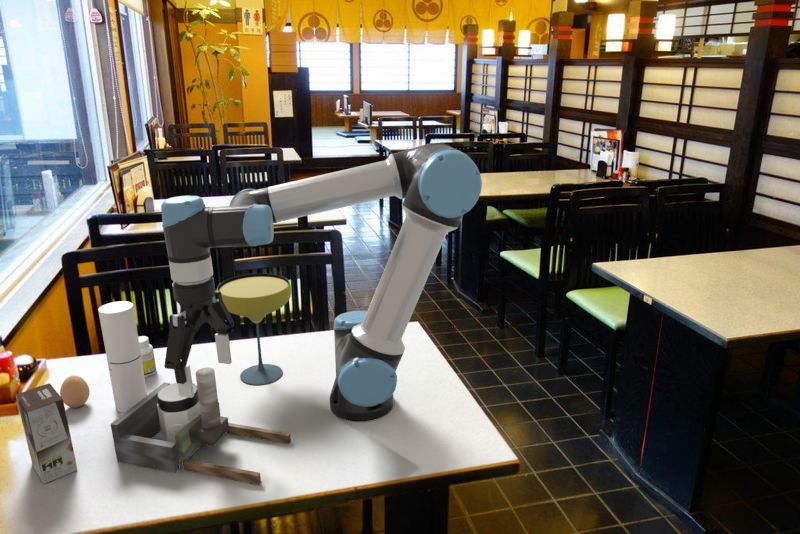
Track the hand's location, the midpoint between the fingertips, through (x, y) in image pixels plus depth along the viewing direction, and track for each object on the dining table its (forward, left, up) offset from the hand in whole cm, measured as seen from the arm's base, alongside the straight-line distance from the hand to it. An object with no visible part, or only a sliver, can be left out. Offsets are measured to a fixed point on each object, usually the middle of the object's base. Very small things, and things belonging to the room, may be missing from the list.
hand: (207, 378), depth 118 cm
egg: (+41, -7, -17) cm, 45 cm away
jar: (+8, -1, -17) cm, 19 cm away
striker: (+2, 0, -16) cm, 17 cm away
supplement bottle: (+36, -25, -17) cm, 47 cm away
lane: (+2, 0, -17) cm, 17 cm away
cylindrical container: (+29, -11, -17) cm, 36 cm away
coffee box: (+28, +13, -17) cm, 36 cm away
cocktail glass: (+6, -32, -17) cm, 37 cm away
